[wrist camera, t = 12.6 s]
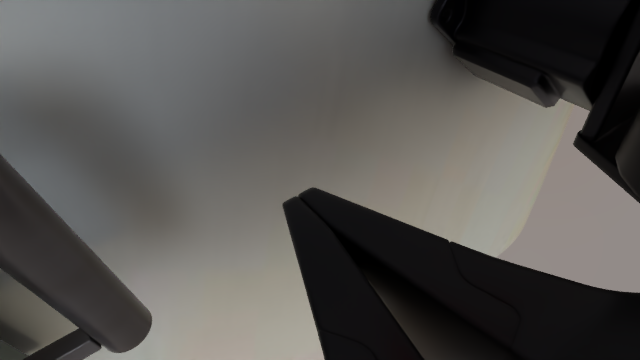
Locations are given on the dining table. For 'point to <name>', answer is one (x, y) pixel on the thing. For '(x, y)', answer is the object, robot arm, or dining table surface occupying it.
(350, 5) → the dining table surface
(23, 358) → the drawer
